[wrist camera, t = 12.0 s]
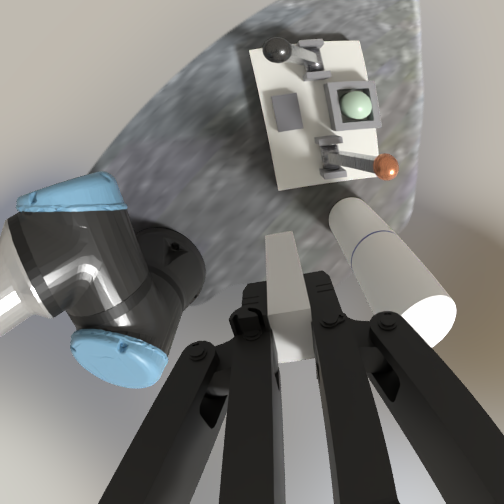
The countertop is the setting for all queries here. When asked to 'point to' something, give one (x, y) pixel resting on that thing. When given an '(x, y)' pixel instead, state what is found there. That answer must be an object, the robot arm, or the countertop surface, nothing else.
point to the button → (355, 105)
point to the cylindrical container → (391, 271)
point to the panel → (315, 113)
